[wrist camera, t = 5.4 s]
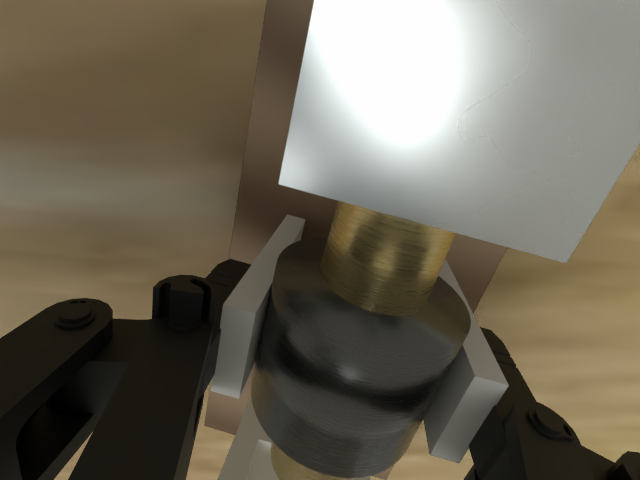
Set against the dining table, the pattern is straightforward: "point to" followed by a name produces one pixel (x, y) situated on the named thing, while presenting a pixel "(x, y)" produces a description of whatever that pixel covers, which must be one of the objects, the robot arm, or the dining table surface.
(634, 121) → the sleeve
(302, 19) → the board
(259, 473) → the socket
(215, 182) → the dining table surface
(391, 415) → the tube
